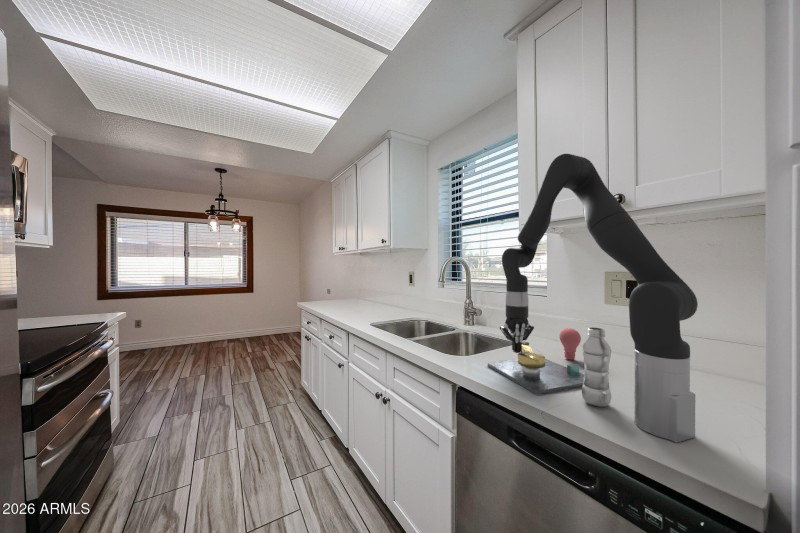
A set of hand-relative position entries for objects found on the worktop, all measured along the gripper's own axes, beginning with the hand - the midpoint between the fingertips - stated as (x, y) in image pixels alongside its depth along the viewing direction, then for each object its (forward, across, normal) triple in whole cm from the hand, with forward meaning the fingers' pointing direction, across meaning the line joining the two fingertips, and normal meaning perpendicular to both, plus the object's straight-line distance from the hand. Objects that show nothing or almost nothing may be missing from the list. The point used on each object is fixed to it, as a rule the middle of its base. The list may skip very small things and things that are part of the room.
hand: (516, 352), depth 103 cm
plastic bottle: (+6, +4, -28) cm, 29 cm away
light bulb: (+6, +25, +2) cm, 26 cm away
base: (+6, +3, -7) cm, 10 cm away
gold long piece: (+3, +1, -5) cm, 6 cm away
